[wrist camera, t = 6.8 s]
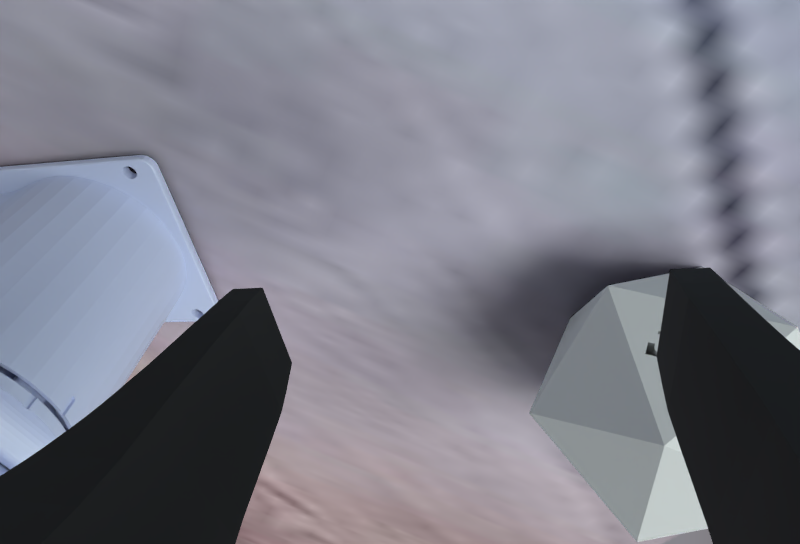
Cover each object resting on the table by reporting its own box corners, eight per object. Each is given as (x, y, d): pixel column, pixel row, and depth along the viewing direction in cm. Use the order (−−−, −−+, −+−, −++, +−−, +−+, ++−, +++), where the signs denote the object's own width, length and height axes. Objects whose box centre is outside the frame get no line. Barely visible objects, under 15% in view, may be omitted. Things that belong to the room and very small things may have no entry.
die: (824, 285, 22) (909, 329, 13) (762, 497, 24) (802, 665, 15) (596, 241, 26) (544, 254, 17) (555, 428, 27) (488, 529, 18)
